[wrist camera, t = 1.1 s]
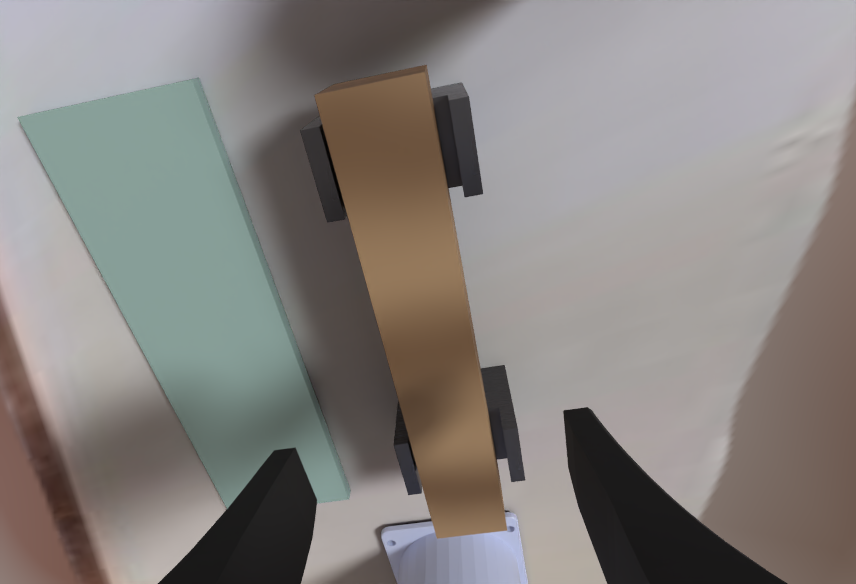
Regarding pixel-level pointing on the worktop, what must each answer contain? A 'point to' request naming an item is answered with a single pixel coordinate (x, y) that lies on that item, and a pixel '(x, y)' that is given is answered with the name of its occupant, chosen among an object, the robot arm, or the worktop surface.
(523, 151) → the worktop surface
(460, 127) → the post
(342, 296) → the worktop surface
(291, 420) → the mat
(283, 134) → the worktop surface
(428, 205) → the rail
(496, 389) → the post
